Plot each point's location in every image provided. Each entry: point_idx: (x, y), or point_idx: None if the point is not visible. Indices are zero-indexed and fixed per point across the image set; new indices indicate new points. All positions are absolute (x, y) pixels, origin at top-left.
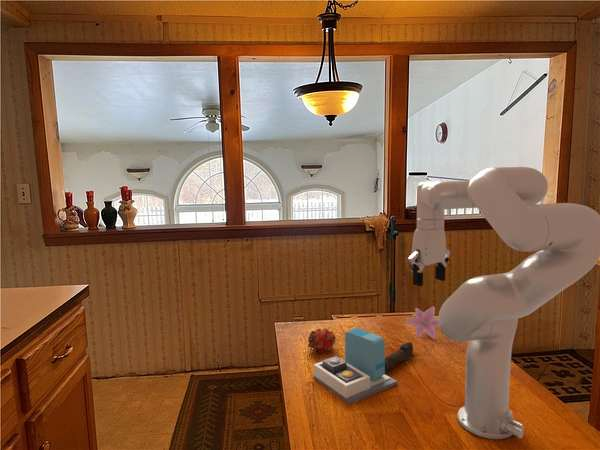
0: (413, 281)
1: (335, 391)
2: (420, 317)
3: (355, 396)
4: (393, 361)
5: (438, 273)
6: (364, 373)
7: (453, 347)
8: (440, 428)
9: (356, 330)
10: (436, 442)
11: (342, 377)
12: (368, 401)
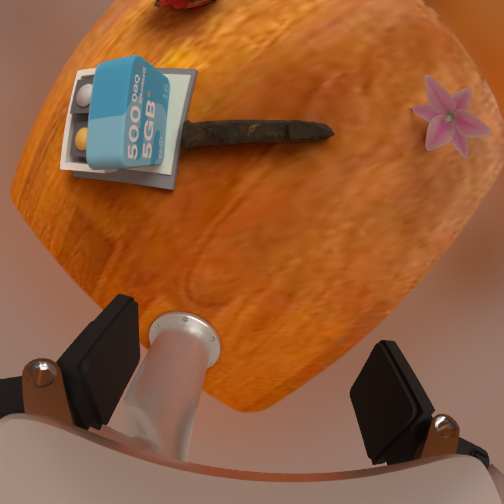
0: (111, 306)
1: None
2: (456, 104)
3: (85, 173)
4: (222, 143)
5: (380, 395)
6: None
7: (411, 199)
8: None
9: (112, 76)
10: None
11: (72, 141)
12: (99, 190)
